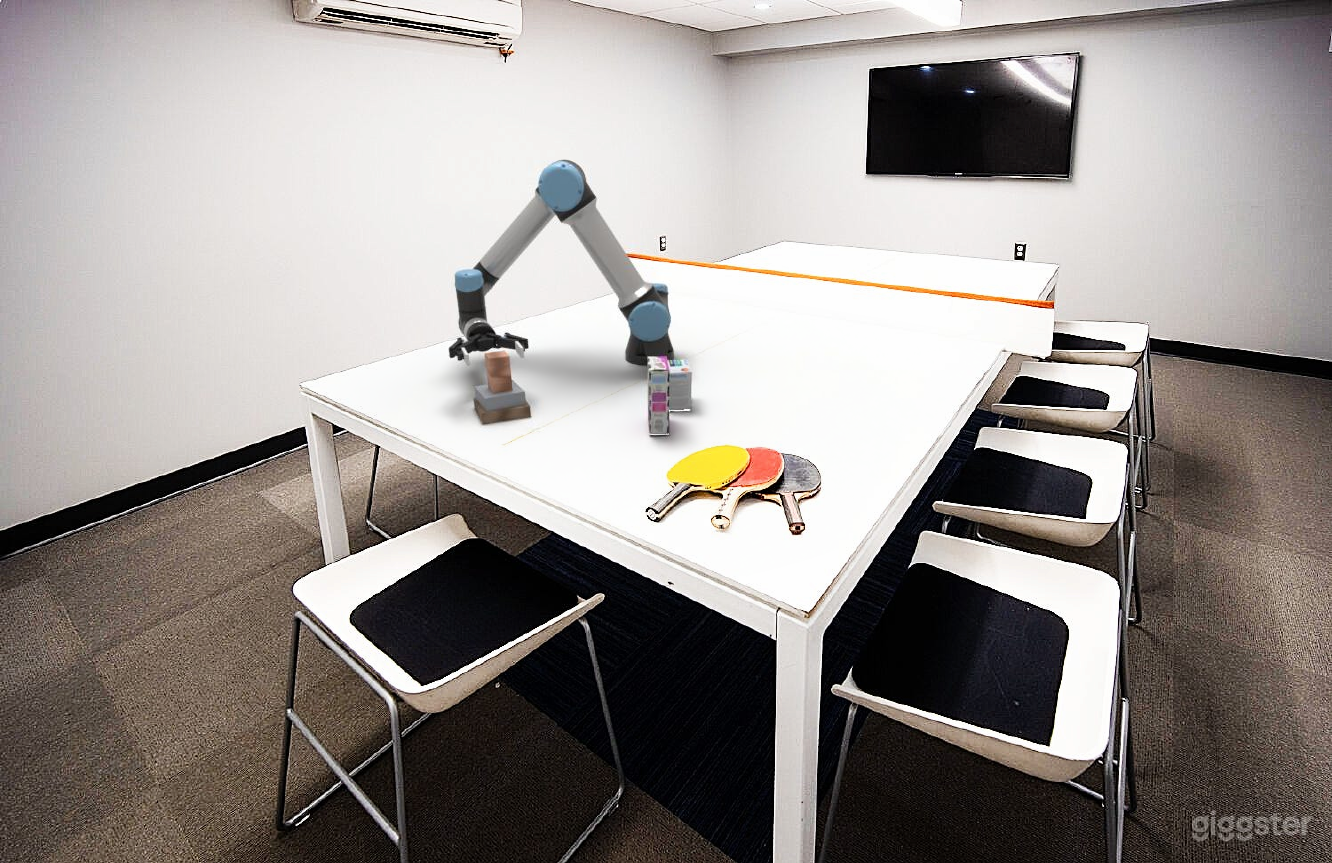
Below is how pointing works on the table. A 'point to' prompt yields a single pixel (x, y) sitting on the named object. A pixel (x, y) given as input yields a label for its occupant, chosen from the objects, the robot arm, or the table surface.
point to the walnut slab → (502, 413)
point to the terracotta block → (498, 371)
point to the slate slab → (499, 397)
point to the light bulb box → (680, 384)
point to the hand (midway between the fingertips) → (495, 356)
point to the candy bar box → (658, 395)
